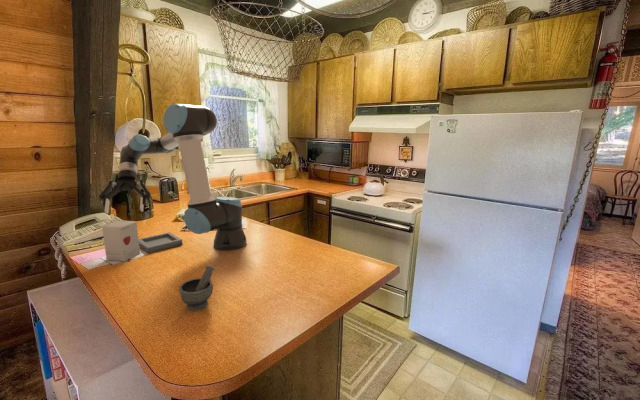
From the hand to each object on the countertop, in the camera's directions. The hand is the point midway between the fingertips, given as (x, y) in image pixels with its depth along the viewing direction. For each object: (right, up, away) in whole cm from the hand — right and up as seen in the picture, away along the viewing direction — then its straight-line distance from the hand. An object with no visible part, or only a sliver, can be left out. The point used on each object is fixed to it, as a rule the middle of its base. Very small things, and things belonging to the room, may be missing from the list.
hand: (124, 211), depth 135 cm
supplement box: (+4, -19, -6) cm, 20 cm away
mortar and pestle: (+50, -28, -40) cm, 70 cm away
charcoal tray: (+12, -16, +8) cm, 21 cm away
